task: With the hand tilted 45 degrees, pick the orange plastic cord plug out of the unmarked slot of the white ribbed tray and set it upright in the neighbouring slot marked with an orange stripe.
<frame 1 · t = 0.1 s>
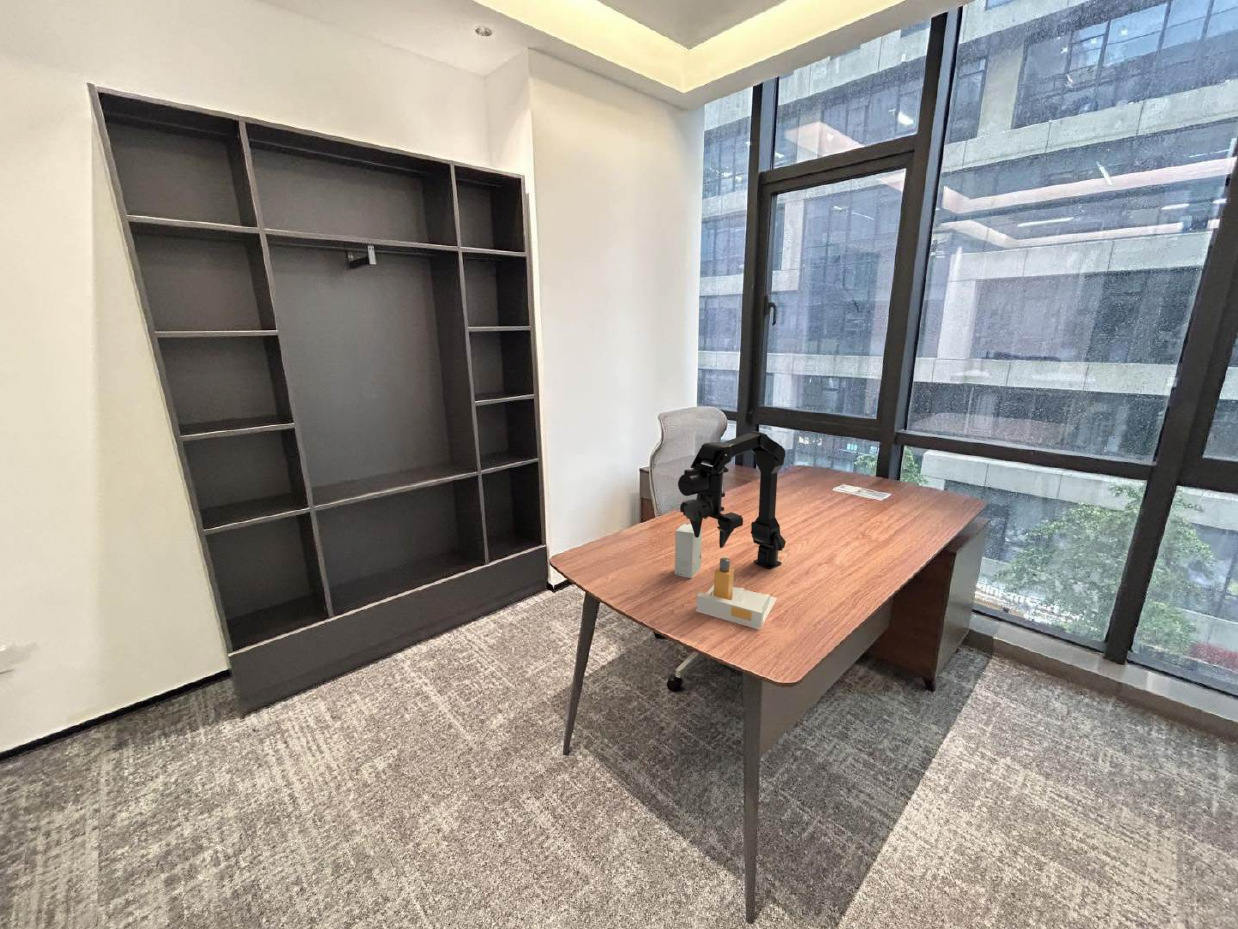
hand: (708, 542, 141), 15 cm above the table, tool pointing down, fingers open, 9 cm apart
skincare box: (687, 573, 155), on the table
orange plug: (722, 604, 135), point 1 cm above the table, touching white ribbed tray
white ribbed tray: (734, 609, 133), on the table
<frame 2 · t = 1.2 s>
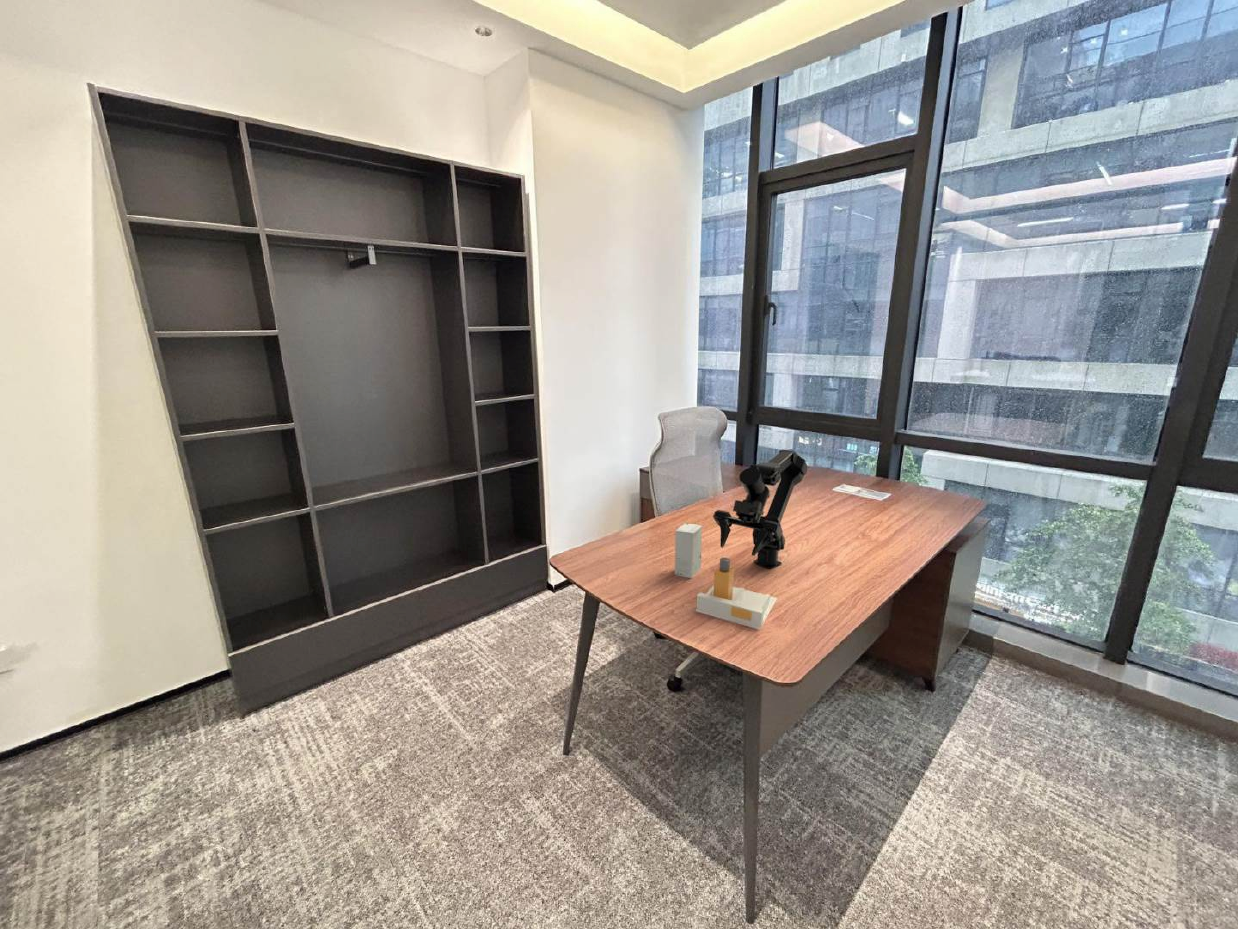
hand: (736, 551, 138), 13 cm above the table, tool tilted 45°, fingers open, 9 cm apart
nothing on the table moved.
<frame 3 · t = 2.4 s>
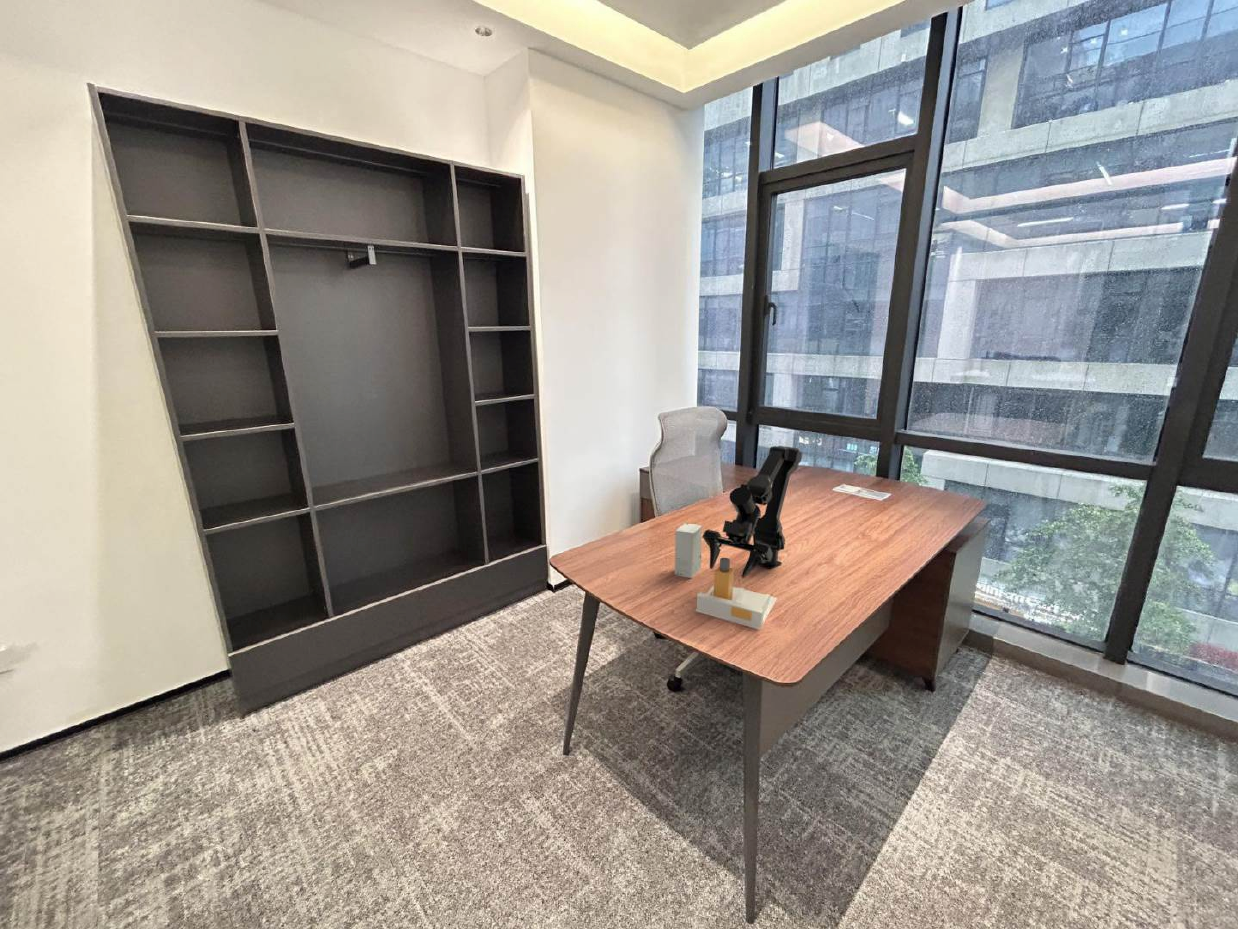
hand: (726, 572, 134), 9 cm above the table, tool tilted 45°, fingers open, 9 cm apart
nothing on the table moved.
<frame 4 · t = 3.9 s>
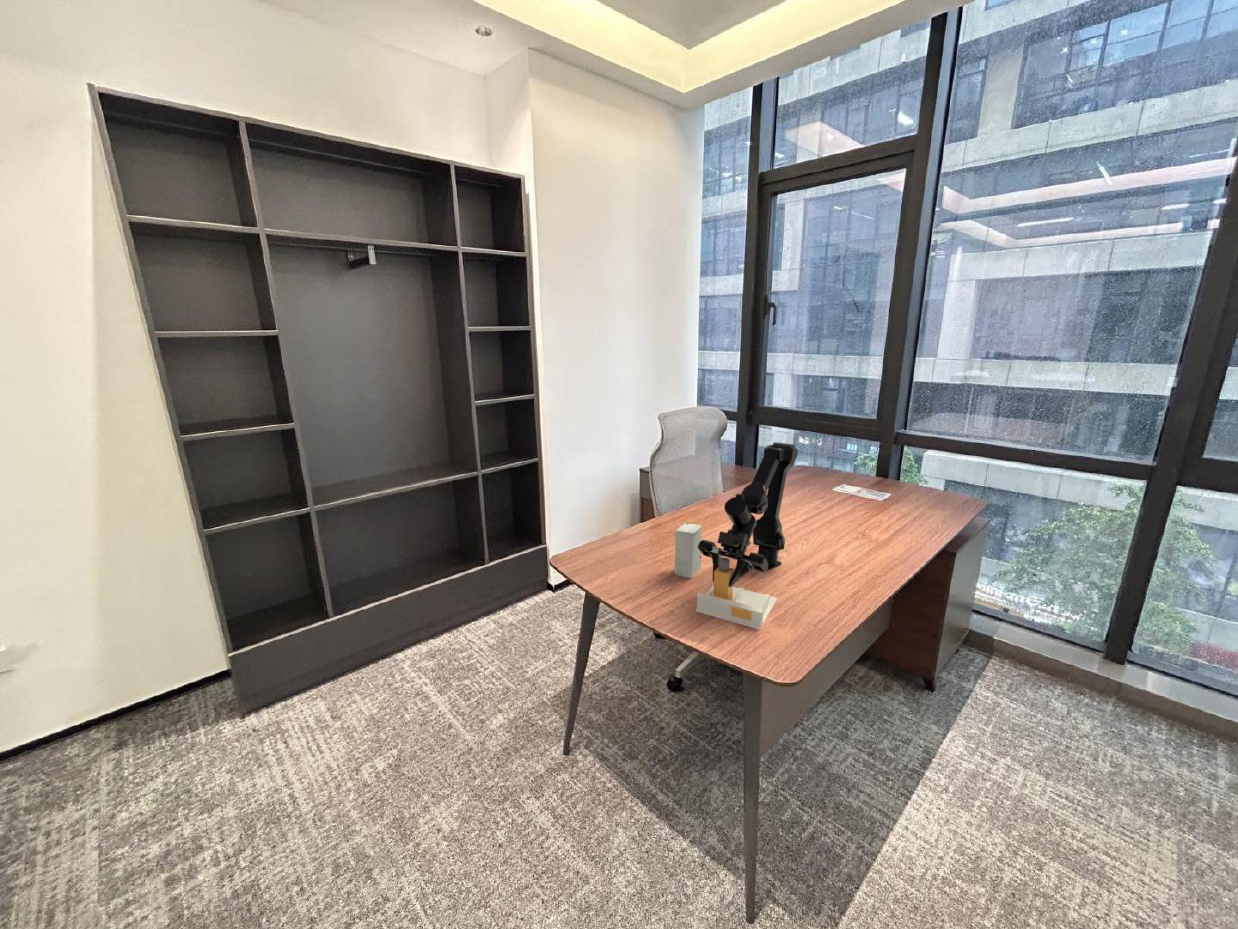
hand: (721, 584, 132), 7 cm above the table, tool tilted 45°, fingers closed on orange plug, 4 cm apart
orange plug: (722, 604, 135), point 1 cm above the table, touching white ribbed tray, gripper
everything else where it was.
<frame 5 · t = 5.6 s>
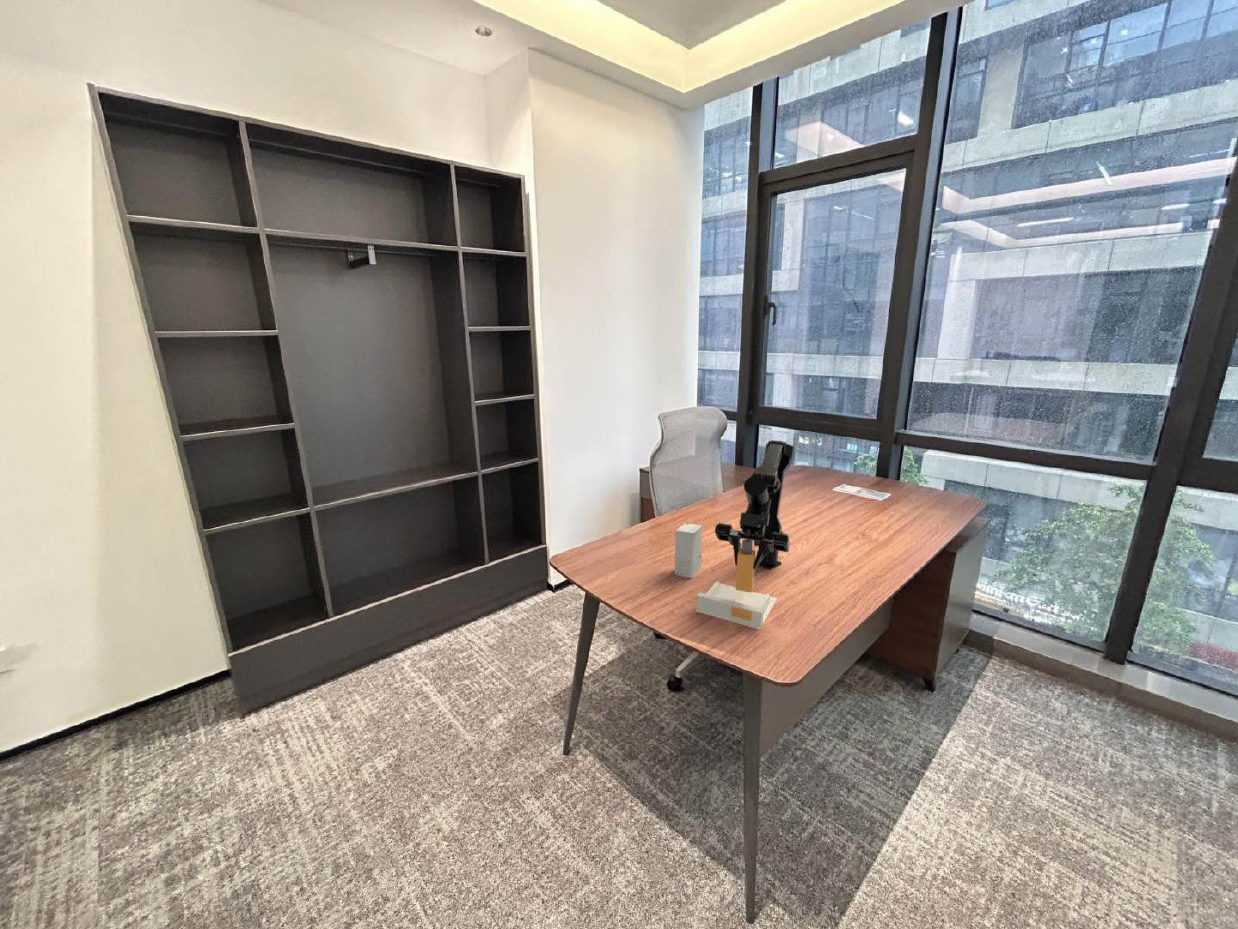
hand: (745, 567, 128), 14 cm above the table, tool tilted 45°, fingers closed on orange plug, 4 cm apart
orange plug: (744, 587, 131), point 7 cm above the table, touching gripper
everything else where it was.
when the fingers open (8 cm above the table, at t = 7.3 s): orange plug stays where it is, resting on white ribbed tray.
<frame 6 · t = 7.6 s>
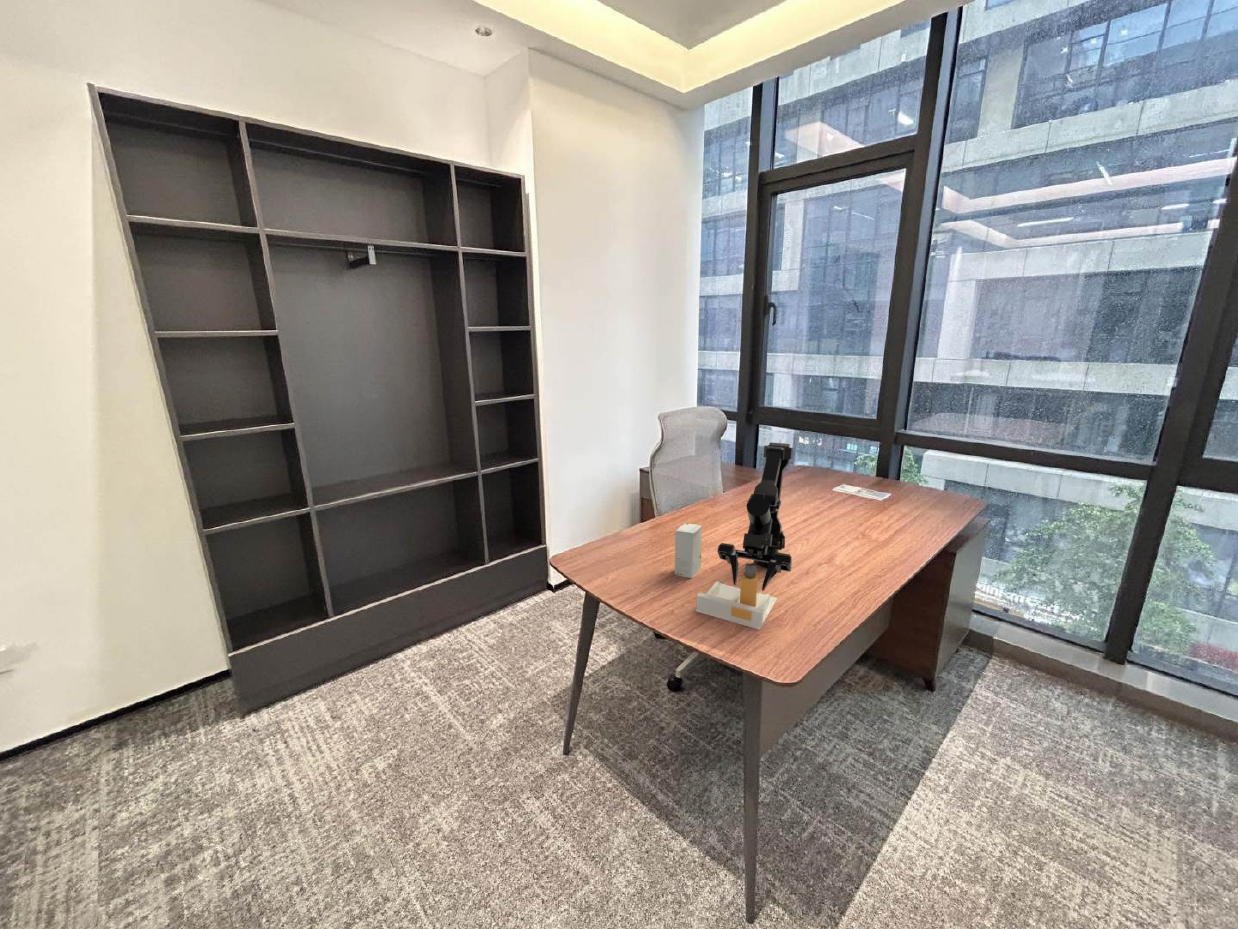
hand: (748, 587, 129), 8 cm above the table, tool tilted 45°, fingers open, 7 cm apart
orange plug: (747, 611, 132), point 1 cm above the table, touching white ribbed tray
everything else where it was.
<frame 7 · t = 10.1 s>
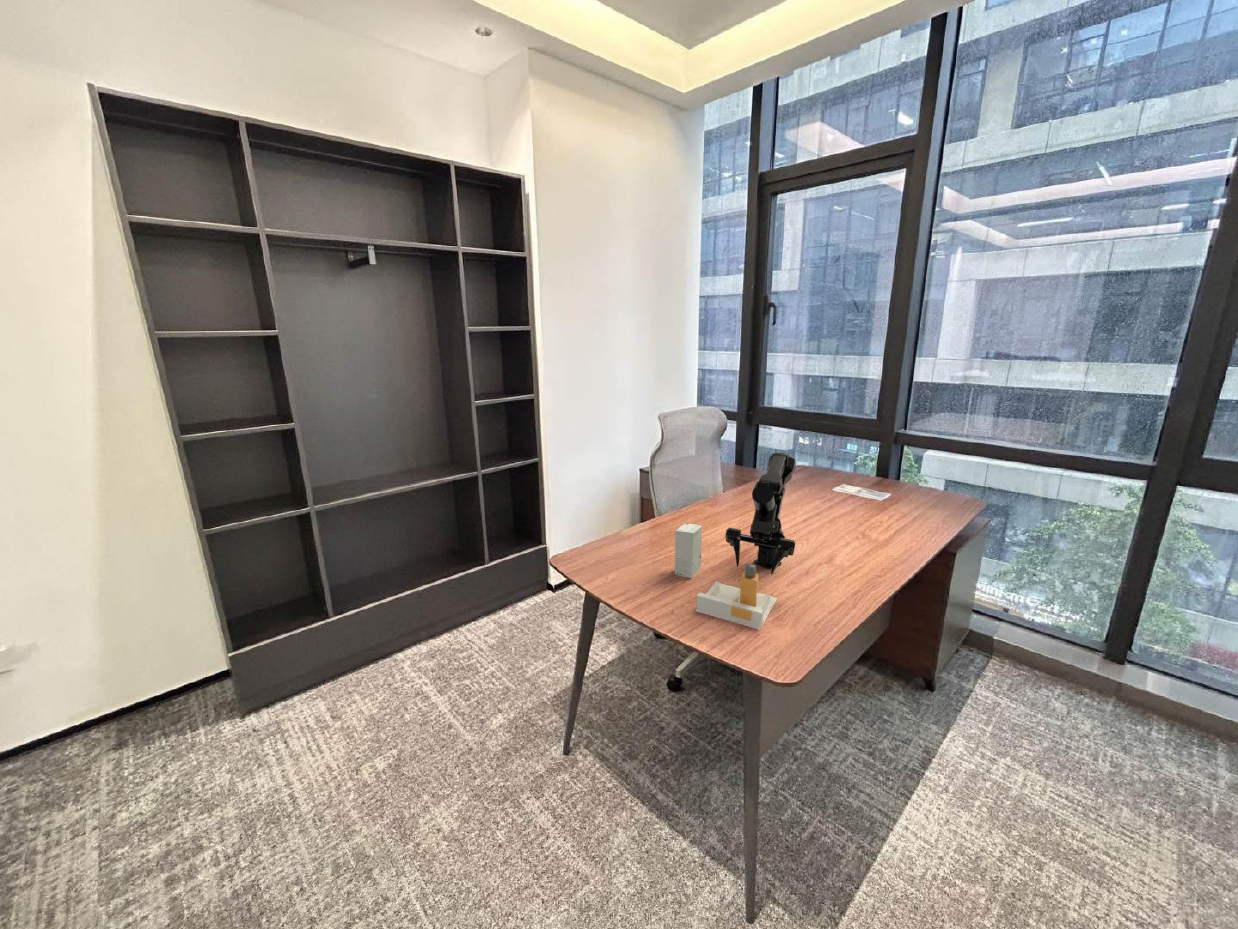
hand: (754, 570, 137), 8 cm above the table, tool tilted 40°, fingers open, 9 cm apart
nothing on the table moved.
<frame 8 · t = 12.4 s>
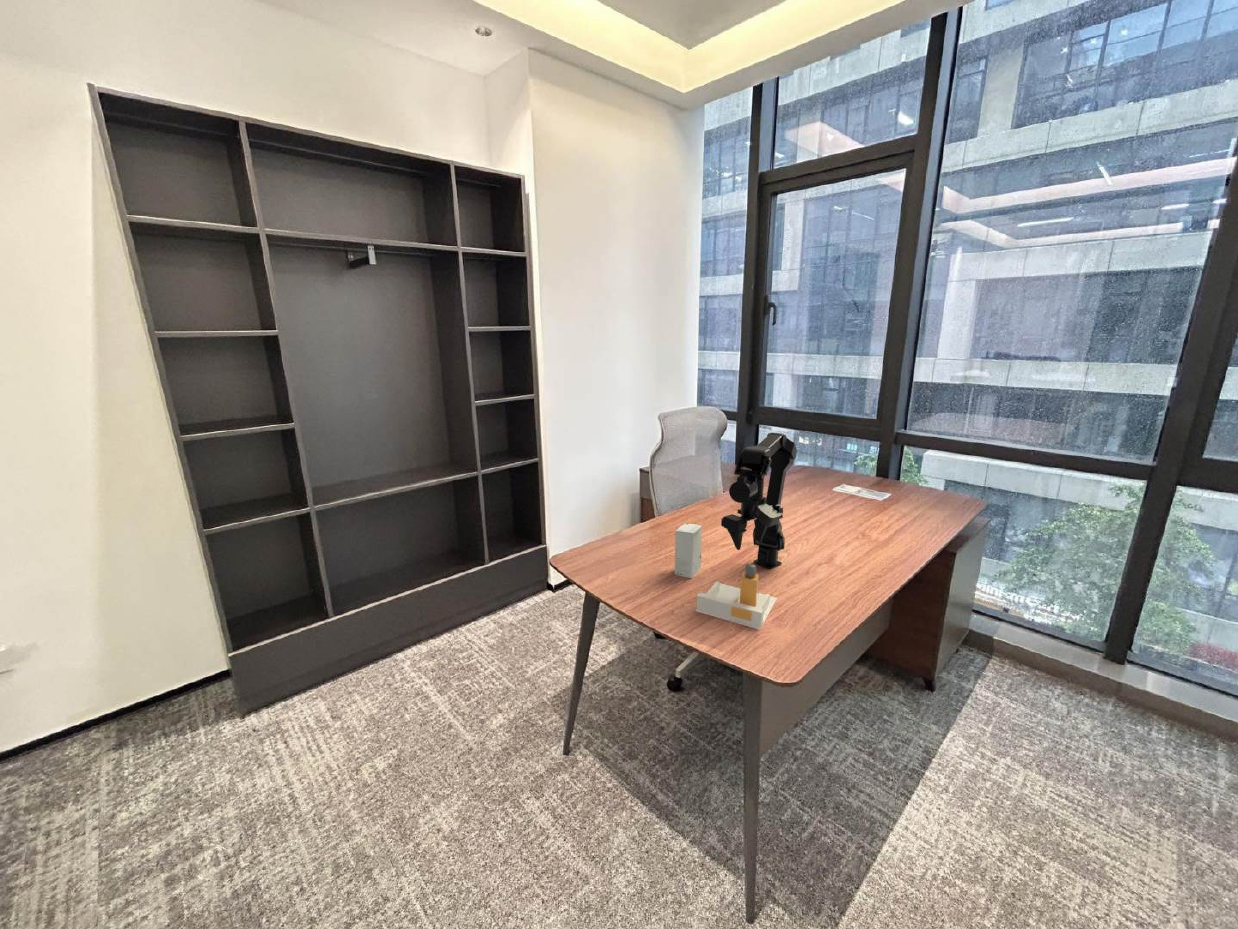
hand: (748, 545, 142), 13 cm above the table, tool pointing down, fingers open, 9 cm apart
nothing on the table moved.
at the end: orange plug 0.0 cm from the target spot, point 0.6 cm above the table; orange plug tilted 0°; the gripper is holding nothing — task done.
